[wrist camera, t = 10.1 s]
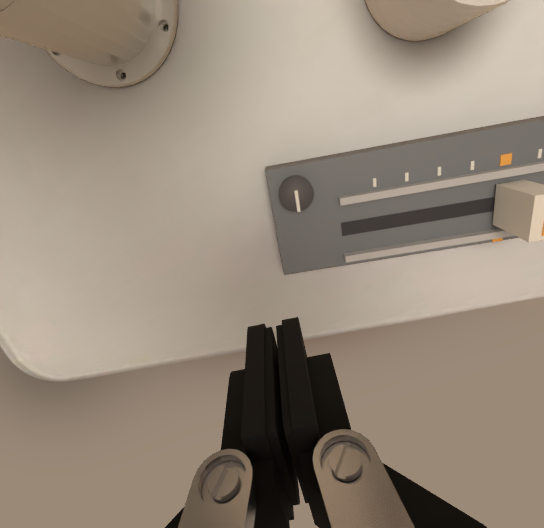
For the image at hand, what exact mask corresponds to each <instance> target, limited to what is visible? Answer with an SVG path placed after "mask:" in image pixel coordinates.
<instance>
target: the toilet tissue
mask: <svg viewBox="0 0 544 528" xmlns="http://www.w3.org/2000/svg"><path fill="white" fill-rule="evenodd" d="M365 1H366V4H367V7H368V9H369V11H370V12H371V14H372V16H373V18H374V19H375V20H376V22H377V23H378V24H379V25H380V26H381V27H382V28H383V29H384V30H385V31H387V32H388V33H389V34H391V35H393V36H395V37H398V38H400V39H404V40H410V41H419V40H427V39H430V38H434V37H437V36H441V35H443V34H444V33H446V32H448V31H450V30H452V29H454V28H456V27H458V26H460V25H462V24H465V23H467V22H468V21H469V20H471V19H474V18H476V17H479V16H481V15H483V14H485V13H488V12H490V11H491V10H493V9H494V8H496V7H498V6H501V5H503V4H505V3H507V2H508V1H510V0H365Z"/></svg>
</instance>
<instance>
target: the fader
mask: <svg viewBox="0 0 544 528" xmlns="http://www.w3.org/2000/svg"><path fill="white" fill-rule="evenodd" d="M492 225H494V226H496V227H498V228H501V229H503V230H505V231H507V232H509V233H511V234H513V235H515V236H517V237H519V238H521V239H523V240H525V241H527V242H531V241H538V240H544V184H540V183H536V182H532V181H528V180H519V181H513V182H507V183H501V184H496V194H495V204H494V214H493V224H492Z"/></svg>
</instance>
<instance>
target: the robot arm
mask: <svg viewBox="0 0 544 528" xmlns="http://www.w3.org/2000/svg"><path fill="white" fill-rule="evenodd" d="M177 22H178V2H177V0H0V35H1V36H4V37H7V38H11V39H14V40H17V41H20V42H24V43H27V44H30V45H34V46H37V47H40V48H43V49H45V50H46V51H47V52H48V53H49V55H50V56H51V57H52V58H53V59H54V60H55V61H56V62H57V63H58V64H60V65H61V66H62V67H63V68H64V69H66V70H67V71H68V72H70V73H72V74H73V75H75V76H77V77H78V78H80V79H83V80H85V81H88V82H90V83H93V84H97V85H102V86H109V87H123V86H130V85H133V84H136V83H138V82H141V81H143V80H145V79H146V78H148V77H149V76H151V75H152V74H153V73H154V72H155V71H156V70H157V69H158V68H159V67H160V66H161V65H162V64H163V62H164V60H165V59H166V57H167V55H168V54H169V52H170V50H171V47H172V44H173V41H174V38H175V34H176V28H177ZM166 25H168V26H169V29H168V31H165V30H164V27H165V26H166ZM123 73H126V78H125V79H124V78H123ZM276 330H277V344H276V341H275V337H274V333H273V330H272V327H268V328H266V326H265V324H261V325H256V326H250V327H248V330H247V346H246V363H245V369H243V370H239V371H233V372H231V373H230V377H229V386H228V394H227V403H226V411H225V420H224V428H223V437H222V445H221V450H220V451H218V452H216V453H214V454H212V455H211V456H209V457H208V458H207V459H206V460H205V461H204V462H203V463H202V464H201V466H200V467H199V468H198V470H197V472H196V474H195V476H194V478H193V481H192V485H191V488H190V491H189V494H188V497H187V501H186V504H185V507H184V508H183V509H182V510H181V511H180V512H179V513H178V514H177V515H176V516H175V517H174V518H173V519H172V521H171V522H170V523H169V524H168V525H167V526H166V527H165V528H289V520H294V512H293V505H298V504H300V498H299V488H298V480H299V483H300V486H301V490H302V493H303V496H304V500H305V503H309V506H310V509H311V512H312V516H313V519H314V523H315V525H317V526H318V527H319V528H487V527H486V526H484V525H483V524H482V523H480V522H478V521H477V520H475V519H473V518H472V517H470V516H469V515H467V514H465V513H464V512H462V511H460V510H459V509H457V508H455V507H454V506H452V505H451V504H449V503H447V502H446V501H444V500H442V499H441V498H439V497H437V496H436V495H434V494H433V493H431V492H429V491H428V490H426V489H424V488H423V487H421V486H419V485H418V484H416V483H414V482H413V481H411V480H410V479H408V478H406V477H405V476H403V475H401V474H400V473H398V472H396V471H395V470H393V469H392V468H390V467H388V466H387V465H385V464H383V463H382V462H381V460H380V458H379V456H378V454H377V452H376V450H375V448H374V447H373V445H372V444H371V442H370V441H369V440H368V439H367V438H366V437H364V436H363V435H362V434H360V433H358V432H355V431H353V430H351V427H350V423H349V420H348V416H347V413H346V409H345V405H344V402H343V398H342V395H341V391H340V388H339V384H338V380H337V377H336V373H335V370H334V366H333V362H332V359H331V355H330V353H328V354H323V355H317V356H312V357H307V355H306V350H305V346H304V341H303V337H302V332H301V328H300V323H299V319H298V317H296V318H291V319H286V320H282V325H278V326H276ZM277 345H278V348H277Z"/></svg>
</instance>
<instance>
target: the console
mask: <svg viewBox="0 0 544 528" xmlns="http://www.w3.org/2000/svg"><path fill="white" fill-rule="evenodd" d="M265 172H266V177H267V183H268V188H269V194H270V199H271V205H272V210H273V216H274V221H275V227H276V233H277V238H278V244H279V249H280V255H281V260H282V266H283V271H284V275H286V274H293V273H299V272H305V271H312V270H318V269H324V268H330V267H337V266H343V265H349V264H356V263H362V262H368V261H374V260H381V259H387V258H393V257H400V256H406V255H412V254H418V253H425V252H431V251H437V250H444V249H450V248H456V247H462V246H469V245H475V244H481V243H488V242H496V241H503V240H506V239H513V238H519V237H517V236H515V235H513V234H511V233H509V232H507V231H505V230H503V229H501V228H498V227H496V226H494V225H492V224H493V214H494V204H495V194H496V184H501V183H507V182H513V181H519V180H528V181H532V182H536V183H540V184H544V116H541V117H535V118H530V119H524V120H519V121H513V122H508V123H502V124H497V125H491V126H486V127H481V128H475V129H470V130H464V131H459V132H453V133H448V134H442V135H437V136H431V137H426V138H421V139H415V140H410V141H404V142H399V143H393V144H388V145H382V146H377V147H371V148H366V149H361V150H355V151H350V152H344V153H339V154H333V155H328V156H322V157H317V158H311V159H306V160H301V161H295V162H290V163H284V164H279V165H273V166H268V167H266V169H265Z"/></svg>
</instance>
